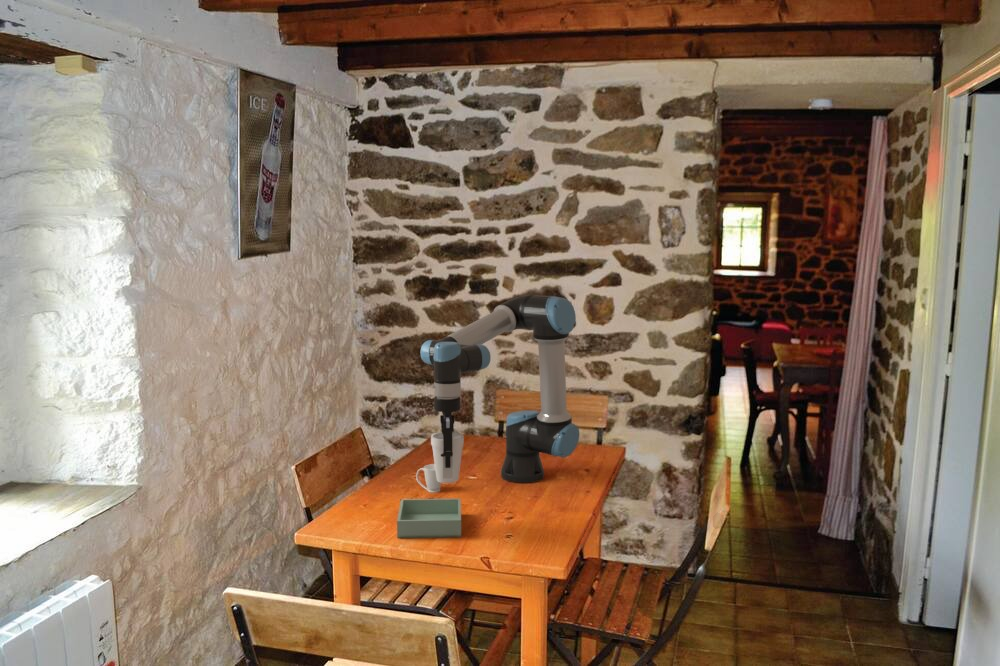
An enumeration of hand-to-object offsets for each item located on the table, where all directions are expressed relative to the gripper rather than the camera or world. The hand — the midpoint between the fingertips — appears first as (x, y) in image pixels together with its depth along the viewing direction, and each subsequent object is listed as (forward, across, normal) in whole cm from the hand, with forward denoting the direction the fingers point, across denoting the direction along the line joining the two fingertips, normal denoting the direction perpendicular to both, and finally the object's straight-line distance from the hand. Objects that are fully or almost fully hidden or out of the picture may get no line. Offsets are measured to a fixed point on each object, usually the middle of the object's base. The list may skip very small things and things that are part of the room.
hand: (447, 472), depth 233 cm
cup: (+17, -34, -5) cm, 38 cm away
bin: (+17, -2, -5) cm, 18 cm away
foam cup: (+2, 0, 0) cm, 2 cm away
